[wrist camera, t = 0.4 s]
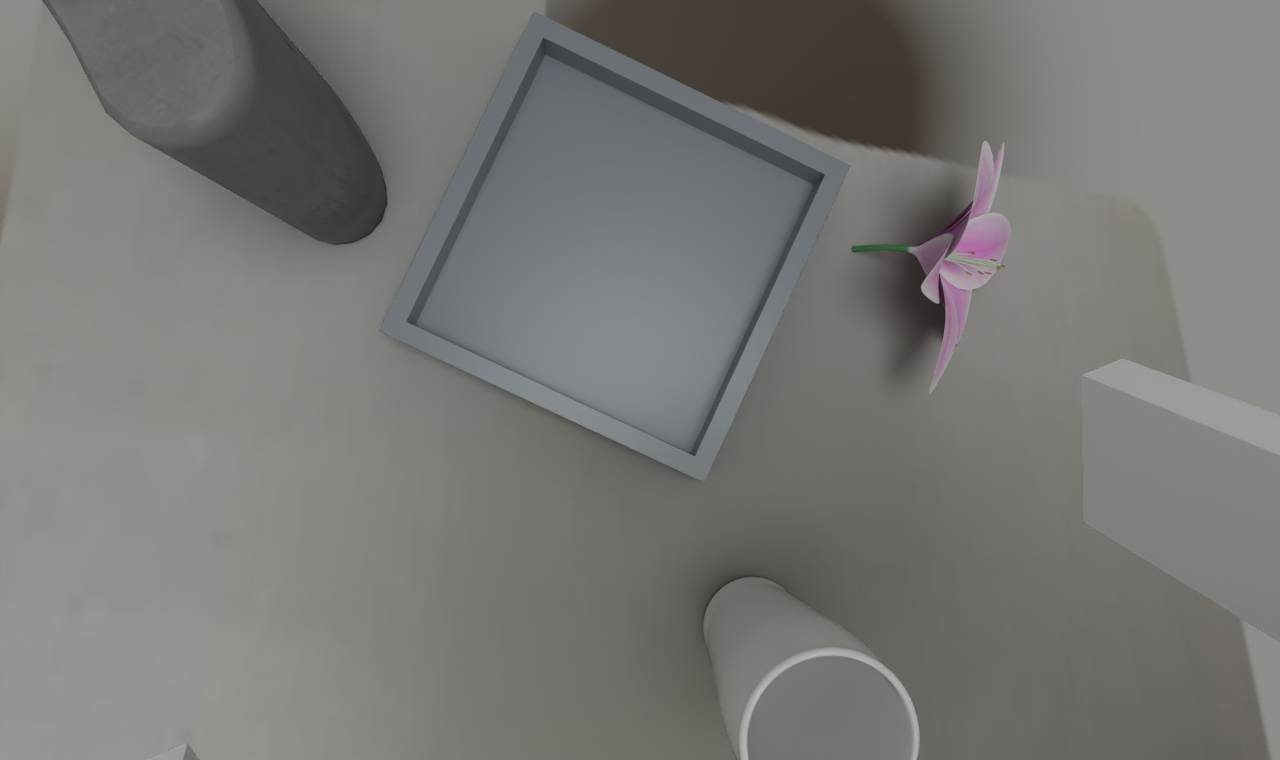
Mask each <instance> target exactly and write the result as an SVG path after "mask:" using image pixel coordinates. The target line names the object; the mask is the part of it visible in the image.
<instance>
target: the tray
mask: <svg viewBox="0 0 1280 760" xmlns="http://www.w3.org/2000/svg"><path fill="white" fill-rule="evenodd" d="M849 168H850V165H848V164H846V163H844V162H842V161H840V160H838V159H836V158H834V157H832V156H829V155H827V154H825V153H823V152H821V151H819V150H817V149H815V148H813V147H811V146H809V145H807V144H805V143H803V142H801V141H799V140H797V139H795V138H793V137H791V136H788V135H786V134H784V133H782V132H780V131H778V130H776V129H774V128H772V127H770V126H768V125H766V124H764V123H762V122H760V121H758V120H756V119H754V118H752V117H750V116H747V115H745V114H743V113H741V112H739V111H737V110H735V109H733V108H731V107H729V106H727V105H725V104H723V103H721V102H719V101H717V100H715V99H713V98H711V97H708V96H706V95H704V94H702V93H700V92H698V91H696V90H694V89H692V88H690V87H688V86H686V85H684V84H682V83H680V82H678V81H676V80H674V79H672V78H670V77H668V76H665V75H663V74H661V73H659V72H657V71H655V70H653V69H651V68H649V67H647V66H645V65H643V64H641V63H639V62H637V61H635V60H633V59H631V58H628V57H626V56H624V55H622V54H620V53H618V52H616V51H614V50H612V49H610V48H608V47H606V46H604V45H602V44H600V43H598V42H596V41H594V40H592V39H589V38H588V37H585V36H583V35H581V34H579V33H577V32H575V31H573V30H571V29H569V28H567V27H565V26H563V25H561V24H559V23H557V22H555V21H552V20H551V19H549V18H547V17H544V16H542V15H540V14H538V13H536V12H533V14H532V16H531V18H530V20H529V22H528V24H527V26H526V28H525V30H524V33H523V35H522V37H521V39H520V41H519V43H518V45H517V47H516V49H515V51H514V53H513V55H512V57H511V59H510V61H509V63H508V66H507V68H506V70H505V72H504V74H503V76H502V78H501V80H500V82H499V84H498V86H497V88H496V90H495V92H494V94H493V97H492V99H491V101H490V103H489V105H488V107H487V109H486V111H485V113H484V115H483V117H482V119H481V121H480V123H479V125H478V127H477V130H476V132H475V134H474V136H473V138H472V140H471V142H470V144H469V146H468V148H467V150H466V152H465V154H464V156H463V158H462V161H461V163H460V165H459V167H458V169H457V171H456V173H455V175H454V177H453V179H452V181H451V183H450V185H449V187H448V189H447V191H446V194H445V196H444V198H443V200H442V202H441V204H440V206H439V208H438V210H437V212H436V214H435V216H434V218H433V220H432V222H431V225H430V227H429V229H428V231H427V233H426V235H425V237H424V239H423V241H422V243H421V245H420V247H419V249H418V251H417V253H416V255H415V258H414V260H413V262H412V264H411V266H410V268H409V270H408V272H407V274H406V276H405V278H404V280H403V282H402V284H401V286H400V289H399V291H398V293H397V295H396V297H395V299H394V301H393V303H392V305H391V307H390V309H389V311H388V313H387V315H386V317H385V319H384V322H383V324H382V326H381V328H380V330H379V331H380V332H382V333H384V334H386V335H388V336H390V337H393V338H395V339H397V340H399V341H401V342H403V343H405V344H408V345H410V346H412V347H414V348H416V349H418V350H420V351H423V352H425V353H427V354H429V355H431V356H433V357H436V358H438V359H440V360H442V361H444V362H446V363H448V364H451V365H453V366H455V367H457V368H459V369H461V370H463V371H466V372H468V373H470V374H472V375H474V376H476V377H479V378H481V379H483V380H485V381H487V382H489V383H491V384H494V385H496V386H498V387H500V388H502V389H504V390H506V391H509V392H511V393H513V394H515V395H517V396H519V397H521V398H524V399H526V400H528V401H530V402H532V403H534V404H537V405H539V406H541V407H543V408H545V409H547V410H549V411H552V412H554V413H556V414H558V415H560V416H562V417H564V418H567V419H569V420H571V421H573V422H575V423H577V424H580V425H582V426H584V427H586V428H588V429H590V430H592V431H595V432H597V433H599V434H601V435H603V436H605V437H607V438H610V439H612V440H614V441H616V442H618V443H620V444H623V445H625V446H627V447H629V448H631V449H633V450H635V451H638V452H640V453H642V454H644V455H646V456H648V457H650V458H653V459H655V460H657V461H659V462H661V463H663V464H666V465H668V466H670V467H672V468H674V469H676V470H678V471H681V472H683V473H685V474H687V475H689V476H691V477H693V478H696V479H698V480H700V481H702V482H704V483H705V480H706V478H707V476H708V474H709V472H710V470H711V467H712V465H713V463H714V461H715V459H716V457H717V454H718V452H719V450H720V448H721V446H722V444H723V441H724V439H725V437H726V435H727V433H728V431H729V428H730V426H731V424H732V422H733V420H734V418H735V415H736V413H737V411H738V409H739V407H740V404H741V402H742V400H743V398H744V396H745V394H746V391H747V389H748V387H749V385H750V383H751V381H752V378H753V376H754V374H755V372H756V370H757V368H758V365H759V363H760V361H761V359H762V357H763V355H764V352H765V350H766V348H767V346H768V344H769V342H770V339H771V337H772V335H773V333H774V331H775V328H776V326H777V324H778V322H779V320H780V318H781V315H782V313H783V311H784V309H785V307H786V305H787V302H788V300H789V298H790V296H791V294H792V292H793V289H794V287H795V285H796V283H797V281H798V279H799V276H800V274H801V272H802V270H803V268H804V265H805V263H806V261H807V259H808V257H809V255H810V252H811V250H812V248H813V246H814V244H815V242H816V239H817V237H818V235H819V233H820V231H821V229H822V226H823V224H824V222H825V220H826V218H827V216H828V213H829V211H830V209H831V207H832V205H833V203H834V200H835V198H836V196H837V194H838V192H839V189H840V187H841V185H842V183H843V181H844V179H845V176H846V174H847V172H848V170H849Z"/></svg>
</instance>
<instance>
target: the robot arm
mask: <svg viewBox="0 0 1280 760" xmlns="http://www.w3.org/2000/svg"><path fill="white" fill-rule="evenodd" d="M1082 439H1083V518H1084V523H1085V524H1087V525H1088V526H1090V527H1092V528H1093V529H1095V530H1097V531H1098V532H1100V533H1102V534H1103V535H1105V536H1106V537H1108V538H1110V539H1111V540H1113V541H1115V542H1116V543H1118V544H1120V545H1121V546H1123V547H1125V548H1126V549H1128V550H1129V551H1131V552H1133V553H1134V554H1136V555H1138V556H1139V557H1141V558H1143V559H1144V560H1146V561H1148V562H1149V563H1151V564H1152V565H1154V566H1156V567H1157V568H1159V569H1161V570H1162V571H1164V572H1166V573H1167V574H1169V575H1170V576H1172V577H1174V578H1175V579H1177V580H1179V581H1180V582H1182V583H1184V584H1185V585H1187V586H1189V587H1190V588H1192V589H1193V590H1195V591H1197V592H1198V593H1200V594H1202V595H1203V596H1205V597H1207V598H1208V599H1210V600H1212V601H1213V602H1215V603H1216V604H1218V605H1220V606H1221V607H1223V608H1225V609H1226V610H1228V611H1230V612H1231V613H1233V614H1234V615H1236V616H1238V617H1239V618H1241V619H1243V620H1244V621H1246V622H1248V623H1249V624H1251V625H1253V626H1254V627H1256V628H1258V629H1259V630H1261V631H1262V632H1264V633H1266V634H1267V635H1269V636H1271V637H1272V638H1274V639H1276V640H1277V641H1279V642H1280V415H1278V414H1275V413H1272V412H1270V411H1267V410H1264V409H1261V408H1258V407H1256V406H1253V405H1250V404H1247V403H1244V402H1242V401H1239V400H1236V399H1234V398H1231V397H1228V396H1225V395H1223V394H1220V393H1217V392H1214V391H1211V390H1209V389H1206V388H1203V387H1200V386H1198V385H1195V384H1192V383H1189V382H1187V381H1184V380H1181V379H1178V378H1175V377H1173V376H1170V375H1167V374H1164V373H1162V372H1159V371H1156V370H1153V369H1151V368H1148V367H1145V366H1142V365H1140V364H1137V363H1134V362H1131V361H1128V360H1126V359H1123V358H1122V359H1120V360H1117V361H1115V362H1112V363H1110V364H1107V365H1105V366H1103V367H1100V368H1098V369H1095V370H1093V371H1090V372H1088V373H1086V374H1083V375H1082ZM146 760H199V759H198V757H197V756H196V754H195V753H194V751H193V750H192V749H191V747H190V746H189V744H188V743H185V744H183V745H180V746H178V747H176V748H173V749H171V750H168V751H166V752H163V753H161V754H159V755H156V756H154V757H151V758H149V759H146Z"/></svg>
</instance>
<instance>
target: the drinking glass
mask: <svg viewBox="0 0 1280 760" xmlns="http://www.w3.org/2000/svg"><path fill="white" fill-rule="evenodd" d="M703 633H704V639H705V643H706V646H707V648H708V651H709V653H710V658H711V663H712V668H713V674H714V679H715V685H716V691H717V696H718V701H719V707H720V712H721V716H722V720H723V723H724V727H725V730H726V733H727V736H728V739H729V742H730V744H731V747H732V749H733V752H734V754H735V756H736V759H737V760H917V759H918V753H919V744H920V733H919V724H918V719H917V714H916V711H915V708H914V705H913V703H912V700H911V698H910V696H909V694H908V692H907V690H906V689H905V687H904V686H903V684H902V683H901V682H900V680H899V679H898V678H897V677H896V676H895V675H894V674H893V673H892V671H891V670H890V669H889V668H888V667H887V666H886V664H885V663H884V662H883V661H882V660H881V659H880V658H879V657H878V656H877V655H876V654H875V653H874V652H873V651H872V650H871V649H870V648H869V647H868V646H867V645H866V644H864V643H863V642H862V641H861V640H860V639H859V638H857V637H856V636H855V635H854V634H852V633H851V632H850V631H848V630H847V629H846V628H844V627H843V626H841V625H840V624H838V623H836V622H835V621H833V620H832V619H830V618H828V617H827V616H825V615H823V614H822V613H820V612H818V611H817V610H815V609H813V608H812V607H810V606H808V605H807V604H805V603H803V602H802V601H800V600H799V599H797V598H795V597H794V596H792V595H791V594H790V593H789V592H788V591H787V590H786V589H784V588H783V587H782V586H780V585H779V584H777V583H775V582H773V581H771V580H768V579H765V578H760V577H744V578H740V579H737V580H734V581H732V582H730V583H728V584H726V585H725V586H723V587H722V588H721V589H720V590H719V591H718V592H717V593H716V594H715V595H714V596H713V598H712V599H711V601H710V603H709V604H708V607H707V609H706V612H705V616H704V622H703Z"/></svg>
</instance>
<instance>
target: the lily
mask: <svg viewBox="0 0 1280 760" xmlns="http://www.w3.org/2000/svg"><path fill="white" fill-rule="evenodd" d="M1003 153H1004V142H1003V144H1002V146H1001V149H1000V152H999V154H998V157H997V159H996V161H995V164H994V163H993V157H992V153H991V149H990V146H989V144H988V142H987V141H984V143H983V147H982V150H981V157H980V162H979V169H978V176H977V183H976V189H975V194H974V200H973V201H972V202H971V203H970V204H969V206H968V207H967V208H966V209H965V210H964V211H963V212H961V213H960V214H959V215H958V216H957V217H956V218H955V219H954V220H953V221H951V222H950V223H949V224H948V225H947V226H945V227H944V228H943V229H942V230H940V231H939V232H938V233H937V234H935V235H934V236H933V237H932V238H930V239H929V240H928V241H926V242H925V243H924V244H922V245H920V246H918V247H910V246H901V245H866V246H853V247H852V251H853V252H856V251H874V250H892V251H903V252H909V253H912V254H914V255H915V256H916V257H917V258H918V260H919V262H920V264H921V266H922V268H923V270H924V272H925V274H926V276H927V277H926V278H925V280H924V282H923V283H922V285H921V290H922V292H923V293H924V295H925V296H926V297H928V298H929V299H930V300H932V301H933V302H935V303H937V304H939V300H940V302H941V304H942V306H943V308H944V310H945V312H946V322H945V329H944V336H943V342H942V346H941V350H940V354H939V358H938V362H937V365H936V368H935V372H934V375H933V378H932V382H931V385H930V389H929V394H930V393H931V392H932V391H933V390H934V388H935V387H936V385H937V384H938V382H939V380H940V378H941V377H942V375H943V373H944V371H945V369H946V367H947V365H948V363H949V361H950V359H951V357H952V354H953V351H954V348H955V345H958V342H959V341H960V339H961V336H962V333H963V330H964V327H965V323H966V320H967V316H968V311H969V307H970V302H971V294H972V289H977V288H979V287H981V286H982V285H984V284H985V283H987V282H988V280H989V279H990V278H991V277H992V276H993V275H994V273H995V271H996V270H997V269H1000V267H1005V266H1004V265H1000V263H1001V260H1002V258H1003V256H1004V254H1005V251H1006V249H1007V245H1008V242H1009V238H1010V234H1011V228H1010V224H1009V222H1008V220H1007V219H1006V218H1005V217H1004V216H1003V215H1002V214H999V213H989V211H990V209H991V206H992V203H993V200H994V197H995V193H996V189H997V185H998V181H999V177H1000V172H1001V166H1002V160H1003Z"/></svg>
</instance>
